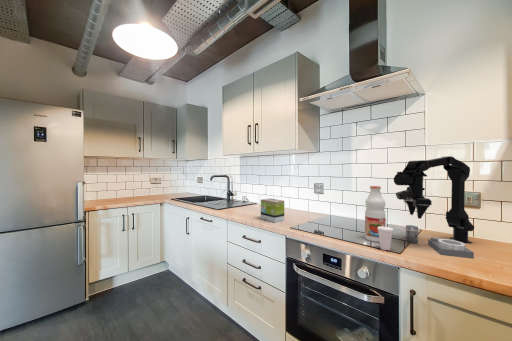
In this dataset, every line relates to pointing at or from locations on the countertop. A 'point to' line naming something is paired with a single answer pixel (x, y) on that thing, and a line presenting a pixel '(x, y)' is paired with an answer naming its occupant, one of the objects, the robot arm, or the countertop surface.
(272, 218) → the tea box
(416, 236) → the lens
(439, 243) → the camera body
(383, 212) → the fruit juice
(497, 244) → the countertop surface
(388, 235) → the smoothie
